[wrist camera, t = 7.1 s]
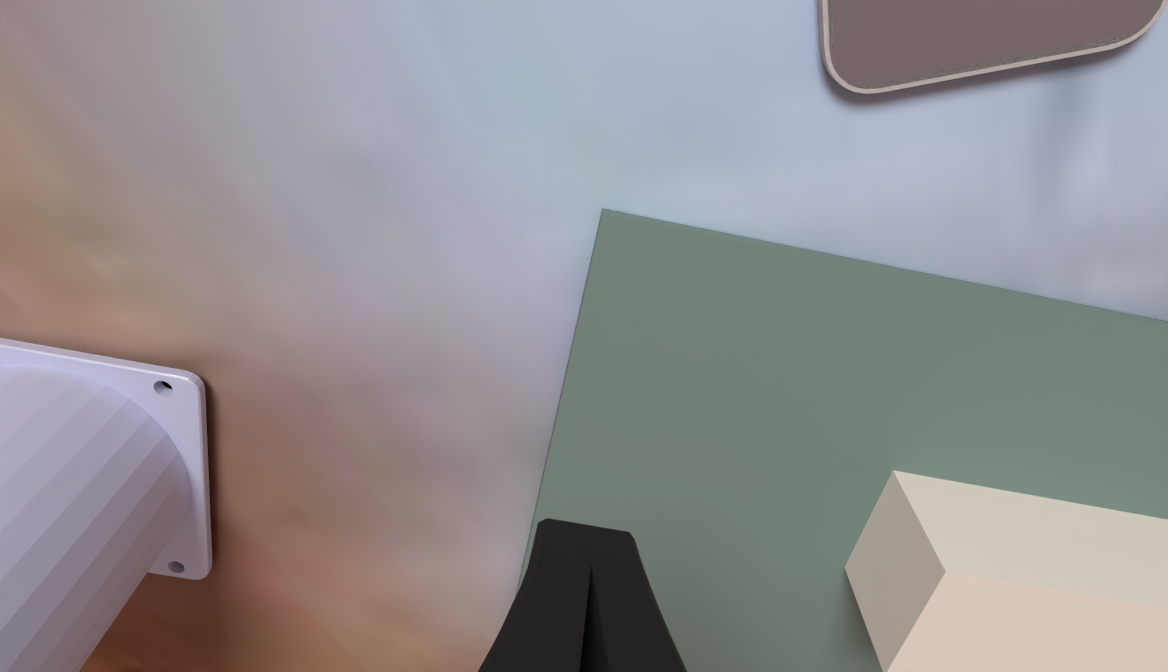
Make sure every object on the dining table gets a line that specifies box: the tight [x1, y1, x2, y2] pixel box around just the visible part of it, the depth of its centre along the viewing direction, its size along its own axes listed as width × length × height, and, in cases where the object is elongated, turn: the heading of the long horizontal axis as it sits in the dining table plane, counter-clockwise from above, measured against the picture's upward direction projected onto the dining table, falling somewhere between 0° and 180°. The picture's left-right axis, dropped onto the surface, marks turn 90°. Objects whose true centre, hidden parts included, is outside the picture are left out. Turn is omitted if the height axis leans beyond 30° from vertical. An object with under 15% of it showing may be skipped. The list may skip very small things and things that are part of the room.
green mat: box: [515, 208, 1168, 672], centre depth 24 cm, size 22×16×1 cm
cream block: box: [844, 470, 1168, 672], centre depth 22 cm, size 4×4×10 cm
